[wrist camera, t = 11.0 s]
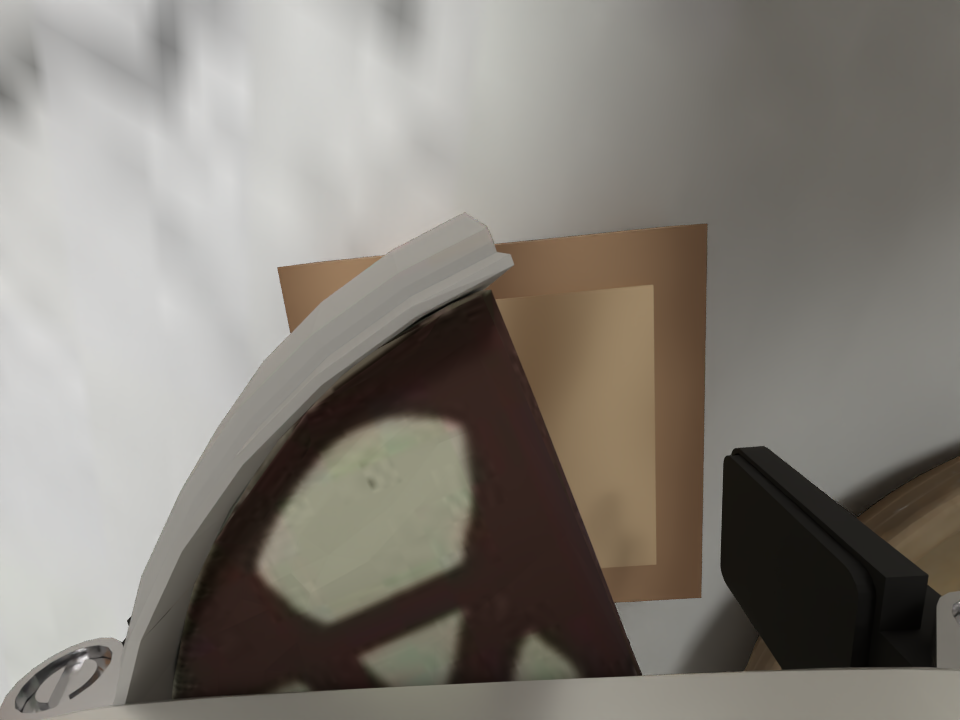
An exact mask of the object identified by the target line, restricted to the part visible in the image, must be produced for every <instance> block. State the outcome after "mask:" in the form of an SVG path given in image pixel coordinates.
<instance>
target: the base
mask: <svg viewBox="0 0 960 720" xmlns="http://www.w3.org/2000/svg"><path fill="white" fill-rule="evenodd" d="M494 245H495V248H496V251H497V252H499V253H506V254H510V255H511V257H512V260H513V262H514V266H512V267H511V268H510V269H509V270H508V271H506V272H505V273H504V274H503V275H501V276H500V277H499V278H498V279H497V280H495V281H494V282H493V283H492V284H491V285H489V286H488V287H487V288H486V289H484V290H490V289H491V290H492V293H493V295H494V298H495V300H496V303H497V305H498V308H499V310H500V313H501V315H502V318H503V320H504V322H505V325H506V327H507V330H508V332H509V335H510V337H511V340H512V342H513V345H514V347H515V350H516V352H517V355H518V357H519V359H520V362H521V364H522V367H523V369H524V372H525V374H526V377H527V379H528V382H529V384H530V387H531V389H532V392H533V394H534V396H535V399H536V401H537V404H538V407H539V409H540V412H541V414H542V417H543V420H544V422H545V425H546V427H547V430H548V432H549V435H550V438H551V440H552V443H553V445H554V448H555V450H556V453H557V456H558V458H559V461H560V463H561V466H562V468H563V471H564V474H565V476H566V479H567V481H568V484H569V486H570V489H571V492H572V494H573V497H574V499H575V502H576V504H577V507H578V510H579V512H580V515H581V517H582V520H583V522H584V525H585V528H586V530H587V533H588V535H589V538H590V541H591V543H592V546H593V549H594V551H595V554H596V556H597V559H598V562H599V564H600V567H601V570H602V572H603V575H604V578H605V580H606V583H607V586H608V588H609V591H610V593H611V596H612V599H613V601H614V603H617V602H634V601H652V600H669V599H687V598H701V584H702V523H703V462H704V402H705V341H706V280H707V224H694V225H680V226H666V227H656V228H647V229H637V230H627V231H617V232H608V233H598V234H588V235H578V236H568V237H559V238H549V239H539V240H529V241H519V242H510V243H500V244H494ZM383 256H385V255H382V256H373V257H363V258H353V259H343V260H333V261H324V262H314V263H307V264H299V265H292V266H284V267H277V268H278V273H279V278H280V283H281V288H282V293H283V298H284V303H285V308H286V313H287V318H288V323H289V328H290V333H292V332H293V331H294V330H295V329H296V328H297V327H298V326H299V325H300V324H301V323H302V322H303V321H304V320H305V319H306V317H307V316H308V315H309V314H310V313H311V312H312V311H313V310H314V309H315V308H316V307H317V306H318V305H319V304H320V303H321V302H322V301H323V300H325V299H326V298H328V297H329V296H330V295H332V294H333V293H334V292H336V291H337V290H338V289H340V288H341V287H343V286H344V285H345V284H347V283H348V282H349V281H351V280H352V279H353V278H355V277H356V276H357V275H359V274H360V273H362V272H363V271H364V270H366V269H367V268H368V267H370V266H371V265H372V264H374V263H375V262H377V261H378V260H379V259H381V258H382V257H383Z"/></svg>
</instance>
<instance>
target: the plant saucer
mask: <svg viewBox="0 0 960 720" xmlns="http://www.w3.org/2000/svg"><path fill="white" fill-rule="evenodd" d="M857 519H858V520H859V521H861V522H862V523H863V524H865V525H866V526H867V527H868V528H870V529H871V530H872V531H873V532H875V533H876V534H877V535H878V536H880V537H881V538H882V539H884V540H885V541H886V542H887V543H889V544H890V545H891V546H892V547H894V548H895V549H896V550H898V551H899V552H900V553H901V554H903V555H904V556H905V557H906V558H908V559H909V560H910V561H911V562H913V563H914V564H915V565H917V566H918V567H919V568H920V569H922V570H923V571H924V572H925V573H927V574H928V575H929V577H928V585H929V586H930V587H931V588H932V589H934V590H935V591H936V592H937V593H939V594H940V595H941V596H944V595H945V594H947V593H949V592H956V591H960V456H958V457H956V458H954V459H951V460H949V461H947V462H945V463H943V464H941V465H939V466H937V467H935V468H933V469H931V470H929V471H927V472H925V473H923V474H921V475H920V476H918V477H916V478H915V479H913V480H911V481H909V482H908V483H906V484H904V485H903V486H901V487H899V488H898V489H896V490H894V491H893V492H891V493H890V494H888V495H887V496H886V497H884V498H883V499H881V500H880V501H878V502H877V503H876V504H874V505H873V506H872V507H870V508H869V509H868V510H866V511H865V512H864V513H862V514H861V515H860V516H859V517H857ZM766 670H782V668H781V667H780V665H779V664H778V662H777V661H776V659H775V658H774V656H773V655H772V653H771V652H770V650H769V649H768V647H767V645H766V644H765V642H764V641H763V639H762V638H761V636H760V635H759V637H758V639H757V641H756V643H755V645H754V648H753V650H752V653H751V656H750V658H749V661H748V664H747V666H746V668H745V670H744V671H766Z"/></svg>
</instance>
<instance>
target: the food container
mask: <svg viewBox="0 0 960 720" xmlns="http://www.w3.org/2000/svg"><path fill="white" fill-rule="evenodd" d="M512 266H514V262H513V260H512V257H511V255H510V254H506V253H499V252H497V251H496V248H495V245H494V242H493V239H492V237H491V234H490V232H489V229H488V227H487V226H485V225H484V224H482V223H481V222H479V221H478V220H476V219H474V218H473V217H471V216H470V215H468V214H467V213H465V212H464V213H462V214H461V215H459V216H457V217H455V218H453V219H451V220H449V221H447V222H445V223H443V224H441V225H439V226H438V227H436V228H434V229H432V230H430V231H428V232H426V233H424V234H422V235H420V236H418V237H416V238H415V239H413V240H411V241H409V242H407V243H405V244H403V245H401V246H399V247H397V248H395V249H393V250H392V251H390V252H389V253H387V254H386V255H385V256H383V257H382V258H381V259H379V260H378V261H377V262H375V263H374V264H372V265H371V266H370V267H368V268H367V269H366V270H364V271H363V272H362V273H360V274H359V275H357V276H356V277H355V278H353V279H352V280H351V281H349V282H348V283H347V284H345V285H344V286H343V287H341V288H340V289H338V290H337V291H336V292H334V293H333V294H332V295H330V296H329V297H328V298H326V299H325V300H323V301H322V302H321V303H320V304H319V305H318V306H317V307H316V308H315V309H314V310H313V311H312V312H311V313H310V314H309V315H308V316H307V317H306V319H305V320H304V321H303V322H302V323H301V324H300V325H299V326H298V327H297V328H296V329H295V330H294V331H293V332H292V333H291V334H290V335H289V336H288V337H287V338H286V339H285V340H284V341H283V342H282V343H281V344H280V345H279V346H278V347H277V348H276V349H275V350H274V351H273V352H272V353H271V354H270V355H269V356H268V357H267V358H266V360H265V361H264V362H263V363H262V364H261V366H260V367H259V369H258V370H257V372H256V373H255V374H254V376H253V377H252V379H251V380H250V382H249V383H248V385H247V386H246V387H245V389H244V390H243V392H242V393H241V395H240V396H239V398H238V399H237V401H236V402H235V403H234V405H233V406H232V408H231V409H230V411H229V412H228V414H227V415H226V416H225V418H224V419H223V421H222V422H221V424H220V425H219V427H218V428H217V430H216V431H215V433H214V435H213V437H212V438H211V440H210V442H209V443H208V445H207V447H206V449H205V450H204V452H203V454H202V455H201V457H200V459H199V461H198V462H197V464H196V466H195V467H194V469H193V471H192V472H191V474H190V476H189V478H188V479H187V481H186V483H185V484H184V486H183V488H182V490H181V491H180V493H179V496H178V498H177V500H176V502H175V504H174V506H173V509H172V511H171V513H170V515H169V517H168V520H167V522H166V524H165V526H164V528H163V530H162V533H161V535H160V537H159V539H158V541H157V543H156V546H155V548H154V550H153V552H152V554H151V557H150V559H149V561H148V563H147V565H146V567H145V570H144V572H143V574H142V576H141V580H140V584H139V588H138V592H137V596H136V600H135V604H134V608H133V612H132V616H131V620H130V624H129V628H128V632H127V636H126V640H125V644H124V648H123V652H122V656H121V660H120V677H119V681H118V685H117V689H116V694H115V698H114V702H113V706H116V705H123V704H128V703H136V702H147V701H159V700H170V699H181V698H193V697H210V696H229V695H248V694H267V693H286V692H305V691H325V690H344V689H365V688H386V687H407V686H429V685H449V684H470V683H490V682H511V681H534V680H556V679H578V678H600V677H622V676H642V673H641V671H640V668H639V666H638V663H637V661H636V658H635V656H634V653H633V651H632V649H631V646H630V642H629V639H628V638H627V636H626V633H625V630H624V628H623V625H622V622H621V620H620V617H619V615H618V612H617V609H616V607H615V604H614V601H613V599H612V596H611V593H610V591H609V588H608V586H607V583H606V580H605V578H604V575H603V572H602V570H601V567H600V564H599V562H598V559H597V556H596V554H595V551H594V549H593V546H592V543H591V541H590V538H589V535H588V533H587V530H586V528H585V525H584V522H583V520H582V517H581V515H580V512H579V510H578V507H577V504H576V502H575V499H574V497H573V494H572V492H571V489H570V486H569V484H568V481H567V479H566V476H565V474H564V471H563V468H562V466H561V463H560V461H559V458H558V456H557V453H556V450H555V448H554V445H553V443H552V440H551V438H550V435H549V432H548V430H547V427H546V425H545V422H544V420H543V417H542V414H541V412H540V409H539V407H538V404H537V401H536V399H535V396H534V394H533V392H532V389H531V387H530V384H529V382H528V379H527V377H526V374H525V372H524V369H523V367H522V364H521V362H520V359H519V357H518V355H517V352H516V350H515V347H514V345H513V342H512V340H511V337H510V335H509V332H508V330H507V327H506V325H505V322H504V320H503V318H502V315H501V313H500V310H499V308H498V305H497V303H496V300H495V298H494V295H493V293H492V290H491V289H490V290H484V289H486V288H487V287H488V286H489V285H491V284H492V283H493V282H494V281H495V280H497V279H498V278H499V277H500V276H501V275H503V274H504V273H505V272H506V271H508V270H509V269H510V268H511V267H512Z"/></svg>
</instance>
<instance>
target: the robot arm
mask: <svg viewBox="0 0 960 720" xmlns="http://www.w3.org/2000/svg"><path fill="white" fill-rule="evenodd" d="M721 572H722V575H723V578H724V581H725V583H726V584H727V586H728V588H729V589H730V591H731V592H732V594H733V595H734V597H735V598H736V600H737V601H738V603H739V604H740V606H741V607H742V609H743V610H744V612H745V613H746V615H747V616H748V618H749V620H750V621H751V623H752V624H753V626H754V627H755V629H756V630H757V632H758V633H759V635H760V636H761V638H762V639H763V641H764V642H765V644H766V645H767V647H768V649H769V650H770V652H771V653H772V655H773V656H774V658H775V659H776V661H777V662H778V664H779V665H780V667H781V668H782V670H766V671H741V672H716V673H692V674H667V675H645V676H622V677H600V678H578V679H556V680H534V681H511V682H490V683H470V684H449V685H429V686H407V687H386V688H365V689H344V690H325V691H305V692H286V693H267V694H248V695H229V696H210V697H193V698H181V699H170V700H159V701H147V702H136V703H128V704H123V705H116V706H113V702H114V698H115V694H116V689H117V685H118V681H119V677H120V660H121V656H122V652H123V648H124V644H125V640H126V638H125V640H124V641H123V642H121V641H119V640H117V639H114V638H98V639H93V640H88V641H85V642H82V643H79V644H77V645H74V646H71V647H69V648H67V649H65V650H63V651H61V652H59V653H57V654H55V655H53V656H52V657H50V658H48V659H47V660H45V661H44V662H42V663H41V664H39V665H38V666H36V667H35V668H33V669H32V670H31V671H30V672H29V673H27V674H26V675H25V676H24V677H23V678H22V679H21V680H19V681H18V682H17V683H16V684H15V686H14V687H13V688H12V689H11V690H10V692H9V693H8V694H7V695H6V697H5V699H4V701H3V703H2V705H1V707H0V720H960V591H956V592H949V593H947V594H945V595H944V596H941V595H940V594H939V593H937V592H936V591H935V590H934V589H932V588H931V587H930V586H929V585H928V577H929V575H928V574H927V573H925V572H924V571H923V570H922V569H920V568H919V567H918V566H917V565H915V564H914V563H913V562H911V561H910V560H909V559H908V558H906V557H905V556H904V555H903V554H901V553H900V552H899V551H898V550H896V549H895V548H894V547H892V546H891V545H890V544H889V543H887V542H886V541H885V540H884V539H882V538H881V537H880V536H878V535H877V534H876V533H875V532H873V531H872V530H871V529H870V528H868V527H867V526H866V525H865V524H863V523H862V522H861V521H859V520H858V519H857V518H856V517H854V516H853V515H852V514H851V513H849V512H848V511H847V510H845V509H844V508H843V507H842V506H840V505H839V504H838V503H837V502H835V501H834V500H833V499H832V498H830V497H829V496H828V495H826V494H825V493H824V492H823V491H821V490H820V489H819V488H818V487H816V486H815V485H814V484H812V483H811V482H810V481H809V480H807V479H806V478H805V477H804V476H802V475H801V474H800V473H799V472H797V471H796V470H795V469H793V468H792V467H791V466H790V465H788V464H787V463H786V462H785V461H783V460H782V459H781V458H779V457H778V456H777V455H776V454H774V453H773V452H772V451H771V450H769V449H768V448H766V447H765V446H760V447H746V448H735V449H734V450H733V451H732V454H731V455H730V456H726V457H725V459H724V464H723V497H722V531H721ZM130 620H131V617H130V618H129V619H128V620H127V622H128V625H129V624H130Z"/></svg>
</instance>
